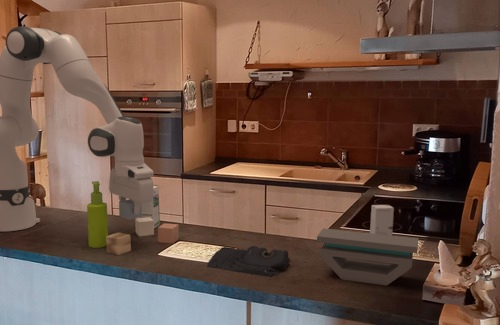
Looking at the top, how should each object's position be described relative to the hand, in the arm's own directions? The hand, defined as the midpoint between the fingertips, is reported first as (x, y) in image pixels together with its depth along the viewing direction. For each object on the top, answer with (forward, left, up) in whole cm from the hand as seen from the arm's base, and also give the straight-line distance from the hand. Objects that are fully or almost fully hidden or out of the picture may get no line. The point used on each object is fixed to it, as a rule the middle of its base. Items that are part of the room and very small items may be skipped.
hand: (130, 211), depth 158 cm
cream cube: (-5, +8, -10) cm, 14 cm away
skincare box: (+57, +56, -10) cm, 81 cm away
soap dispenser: (-5, -9, -10) cm, 14 cm away
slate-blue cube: (0, 0, -2) cm, 2 cm away
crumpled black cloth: (+40, +13, -11) cm, 44 cm away
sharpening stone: (+69, +27, -10) cm, 75 cm away
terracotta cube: (+7, +9, -10) cm, 16 cm away
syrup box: (-11, +14, -10) cm, 20 cm away
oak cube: (+5, -8, -10) cm, 14 cm away
